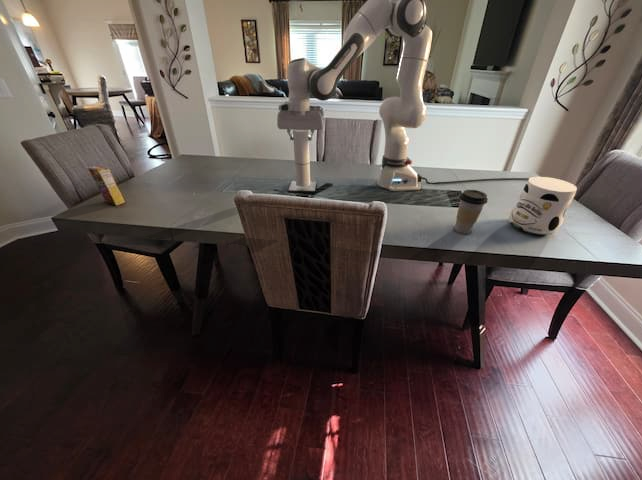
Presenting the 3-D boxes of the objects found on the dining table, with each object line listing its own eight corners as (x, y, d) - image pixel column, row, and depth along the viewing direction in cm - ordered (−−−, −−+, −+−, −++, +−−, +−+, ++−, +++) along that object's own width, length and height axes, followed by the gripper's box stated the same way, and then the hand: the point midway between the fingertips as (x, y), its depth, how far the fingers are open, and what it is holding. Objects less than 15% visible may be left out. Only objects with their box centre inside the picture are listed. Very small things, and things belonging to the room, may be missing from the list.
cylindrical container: (311, 181, 144) (309, 128, 129) (309, 187, 139) (307, 131, 123) (297, 181, 145) (294, 127, 129) (294, 186, 139) (291, 131, 124)
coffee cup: (468, 224, 114) (481, 188, 105) (479, 236, 107) (494, 199, 98) (446, 224, 114) (457, 188, 105) (455, 236, 106) (467, 199, 97)
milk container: (502, 230, 111) (522, 185, 100) (508, 214, 122) (527, 172, 111) (554, 243, 103) (582, 197, 92) (555, 225, 115) (580, 181, 104)
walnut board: (316, 183, 148) (316, 181, 147) (314, 193, 137) (314, 191, 137) (292, 182, 148) (292, 180, 147) (288, 192, 138) (288, 190, 137)
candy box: (104, 201, 127) (86, 167, 117) (114, 198, 130) (97, 164, 120) (115, 206, 123) (98, 171, 114) (125, 202, 126) (109, 168, 117)
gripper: (324, 104, 123) (324, 138, 131) (277, 104, 123) (280, 138, 132) (323, 107, 118) (323, 142, 126) (274, 106, 118) (278, 141, 127)
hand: (301, 140), depth 129 cm, fingers closed on cylindrical container, 7 cm apart
